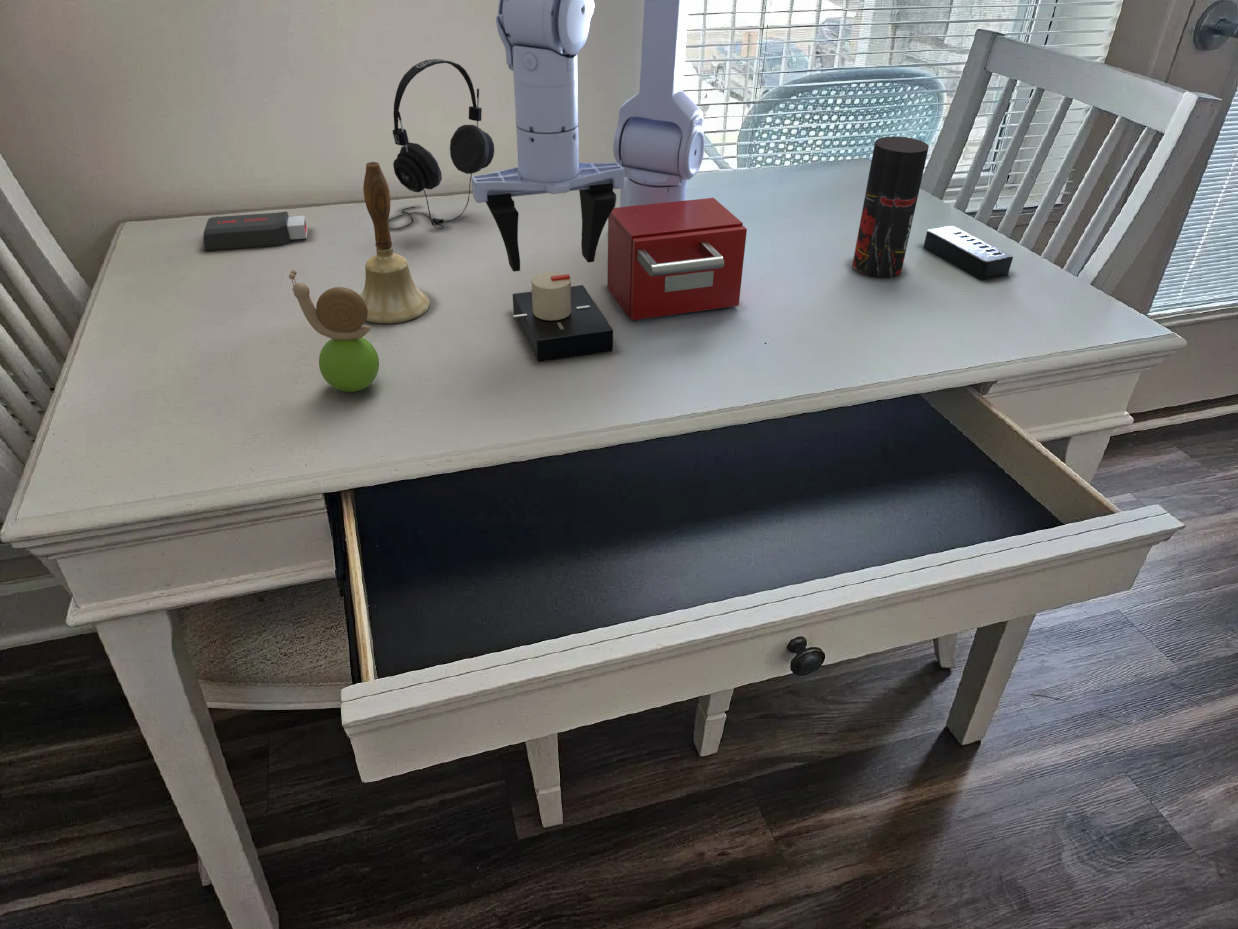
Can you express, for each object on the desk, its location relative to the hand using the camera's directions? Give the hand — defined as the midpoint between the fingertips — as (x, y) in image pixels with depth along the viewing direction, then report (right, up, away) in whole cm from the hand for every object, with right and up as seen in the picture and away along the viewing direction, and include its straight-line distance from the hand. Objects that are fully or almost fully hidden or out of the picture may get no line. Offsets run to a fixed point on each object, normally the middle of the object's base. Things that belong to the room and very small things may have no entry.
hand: (551, 262), depth 90 cm
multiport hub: (+50, +5, +22) cm, 55 cm away
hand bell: (-18, -3, +9) cm, 21 cm away
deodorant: (+39, +4, +20) cm, 43 cm away
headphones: (-18, +13, +30) cm, 37 cm away
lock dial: (0, -4, +3) cm, 5 cm away
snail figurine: (-19, -13, -5) cm, 24 cm away
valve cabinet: (+13, -1, +12) cm, 18 cm away
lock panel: (+1, -6, +5) cm, 8 cm away
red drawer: (+15, -5, +7) cm, 17 cm away
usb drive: (-39, +8, +24) cm, 47 cm away
